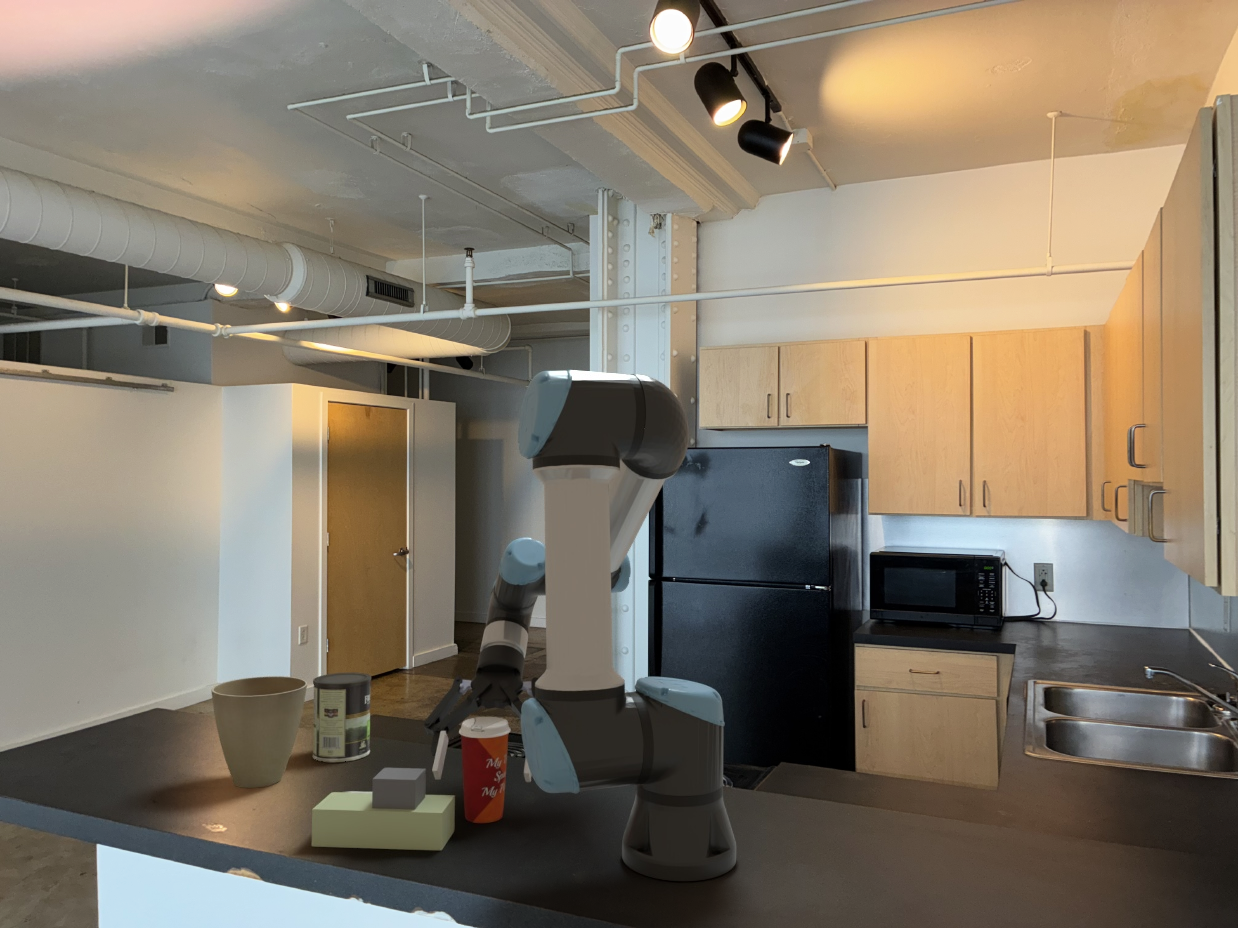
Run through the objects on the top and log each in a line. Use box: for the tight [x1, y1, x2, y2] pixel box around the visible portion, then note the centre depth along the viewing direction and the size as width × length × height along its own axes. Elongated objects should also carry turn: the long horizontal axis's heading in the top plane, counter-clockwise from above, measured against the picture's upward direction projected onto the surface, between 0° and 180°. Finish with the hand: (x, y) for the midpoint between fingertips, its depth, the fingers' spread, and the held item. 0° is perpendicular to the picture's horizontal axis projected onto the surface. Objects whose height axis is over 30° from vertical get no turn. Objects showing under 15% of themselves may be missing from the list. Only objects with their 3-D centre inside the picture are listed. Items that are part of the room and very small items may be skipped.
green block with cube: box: [311, 767, 456, 851], centre depth 129 cm, size 20×17×9 cm
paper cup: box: [458, 716, 512, 824], centre depth 132 cm, size 8×8×14 cm
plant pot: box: [211, 675, 308, 789], centre depth 148 cm, size 15×15×16 cm
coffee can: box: [312, 672, 372, 763], centre depth 163 cm, size 10×10×14 cm
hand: (481, 776), depth 131 cm, fingers open, 13 cm apart
